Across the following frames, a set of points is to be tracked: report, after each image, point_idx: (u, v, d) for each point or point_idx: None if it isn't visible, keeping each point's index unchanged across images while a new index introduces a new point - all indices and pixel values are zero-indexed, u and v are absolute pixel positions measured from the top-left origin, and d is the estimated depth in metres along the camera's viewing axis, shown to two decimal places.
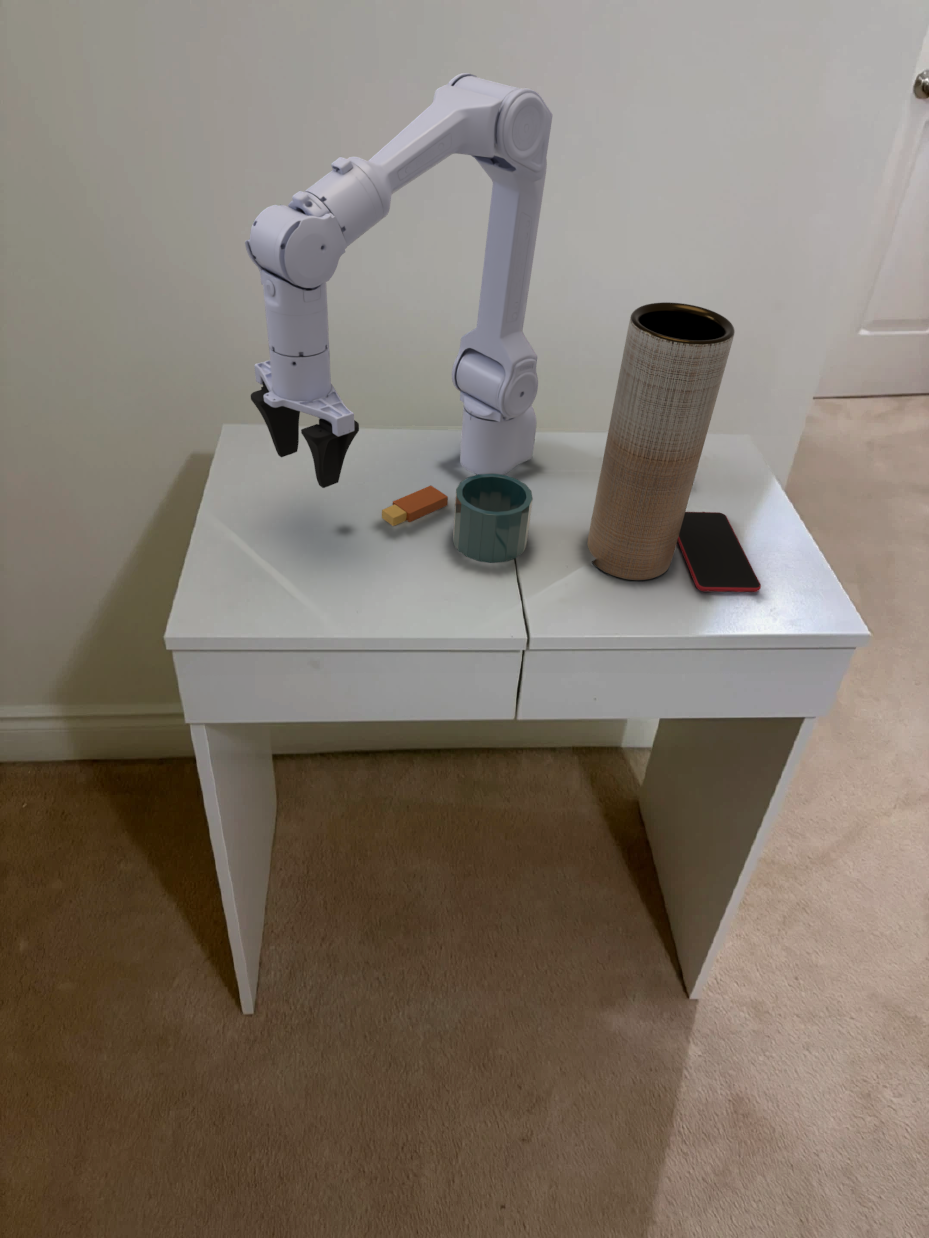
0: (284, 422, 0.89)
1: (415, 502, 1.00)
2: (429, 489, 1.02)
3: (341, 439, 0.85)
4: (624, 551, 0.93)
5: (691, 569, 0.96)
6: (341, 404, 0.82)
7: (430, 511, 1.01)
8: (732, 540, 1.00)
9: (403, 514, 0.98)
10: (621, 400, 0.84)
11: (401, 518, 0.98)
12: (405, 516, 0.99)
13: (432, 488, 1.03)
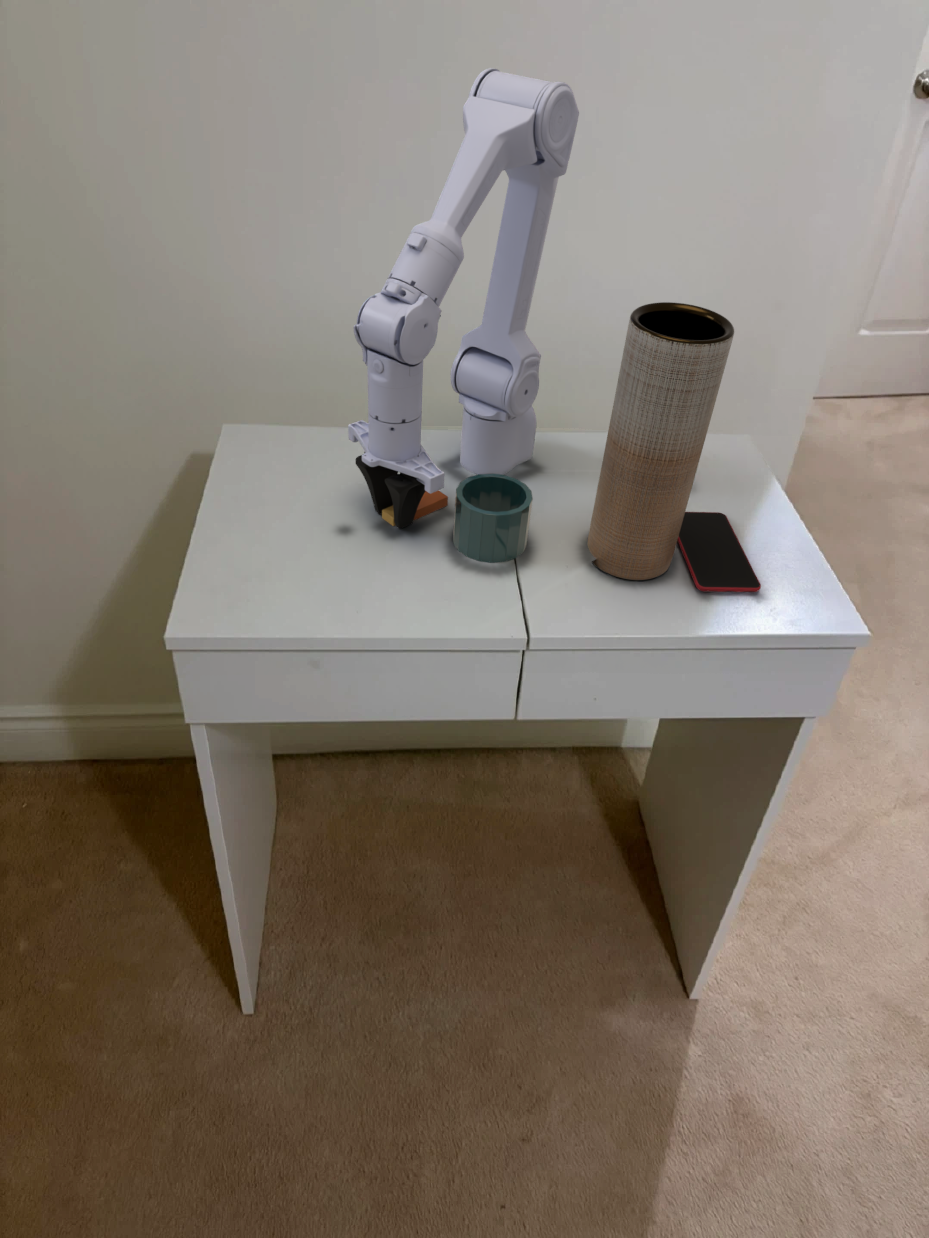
0: (384, 483, 0.97)
1: None
2: None
3: (418, 486, 0.95)
4: (624, 550, 0.92)
5: (691, 569, 0.96)
6: (431, 464, 0.91)
7: (430, 511, 1.01)
8: (732, 540, 1.00)
9: None
10: (621, 399, 0.84)
11: None
12: None
13: None
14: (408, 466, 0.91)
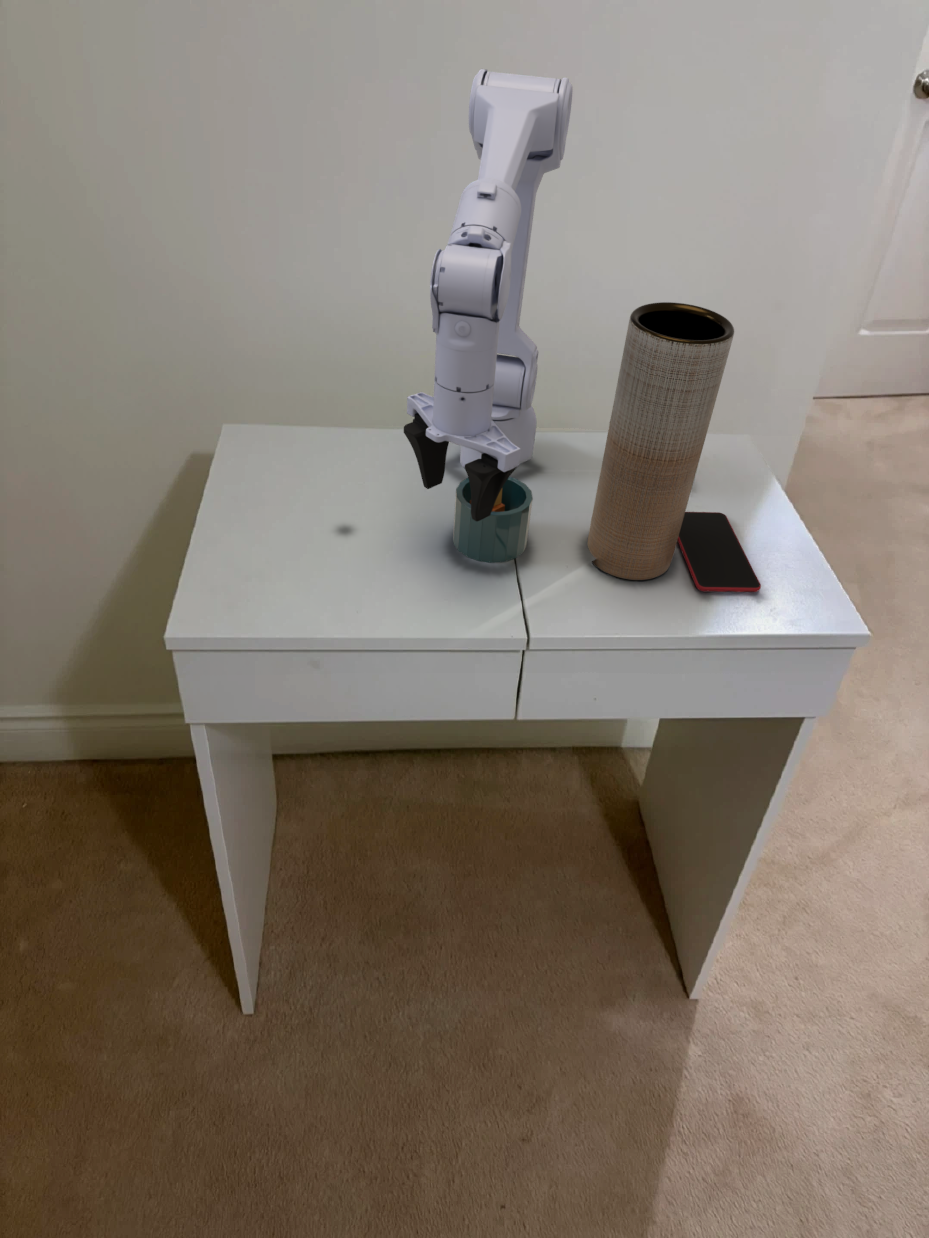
0: (434, 454, 0.89)
1: None
2: None
3: (499, 473, 0.84)
4: (624, 550, 0.92)
5: (691, 569, 0.96)
6: (505, 439, 0.81)
7: None
8: (732, 540, 1.00)
9: (500, 500, 0.93)
10: (621, 399, 0.84)
11: (498, 498, 0.93)
12: (498, 503, 0.93)
13: None
14: (478, 441, 0.81)
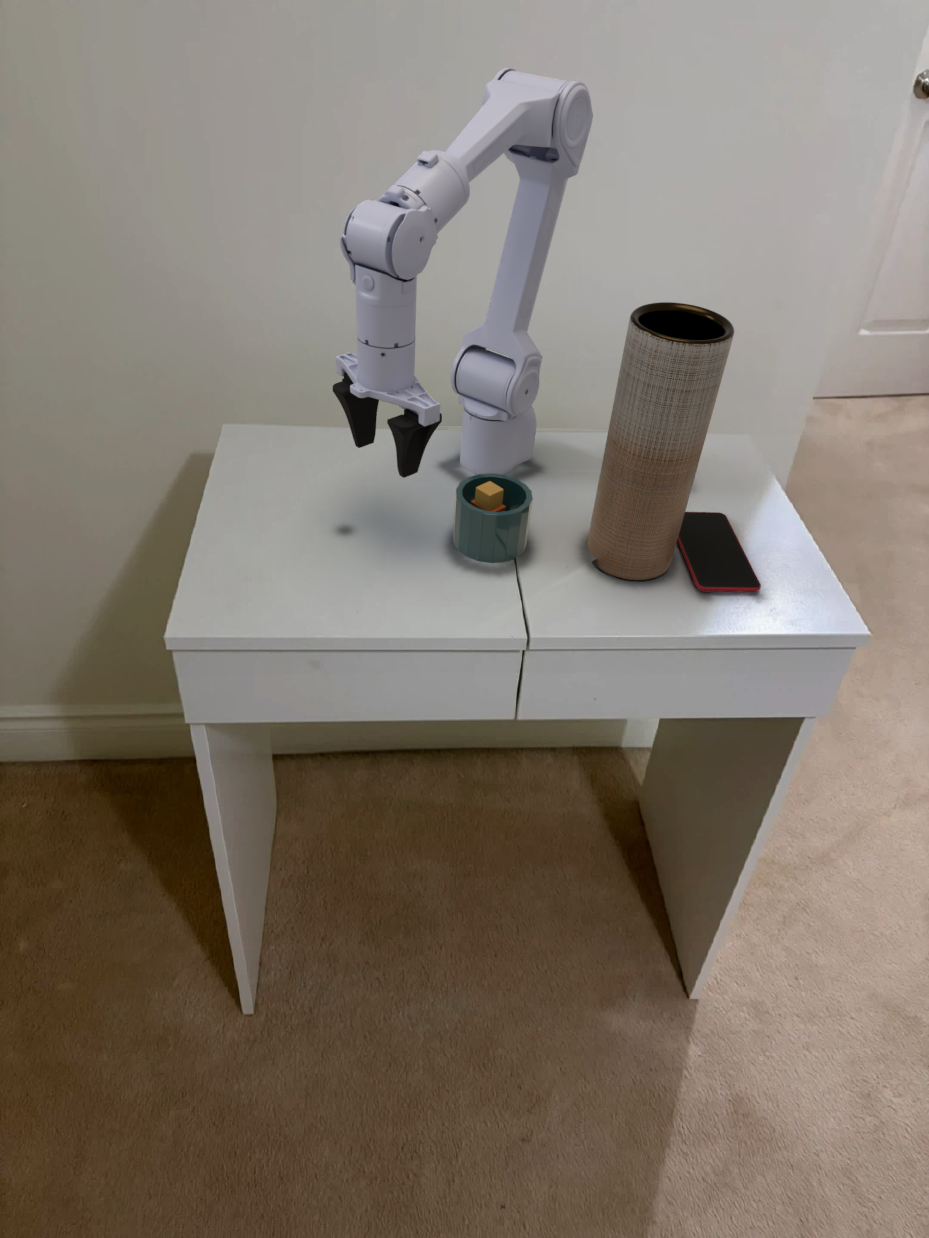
0: (363, 413, 0.91)
1: None
2: None
3: (424, 429, 0.86)
4: (624, 550, 0.92)
5: (691, 569, 0.96)
6: (426, 395, 0.84)
7: None
8: (732, 540, 1.00)
9: (501, 501, 0.93)
10: (621, 399, 0.84)
11: (499, 500, 0.93)
12: (499, 504, 0.93)
13: None
14: (401, 397, 0.84)
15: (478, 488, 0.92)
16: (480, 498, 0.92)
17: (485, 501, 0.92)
